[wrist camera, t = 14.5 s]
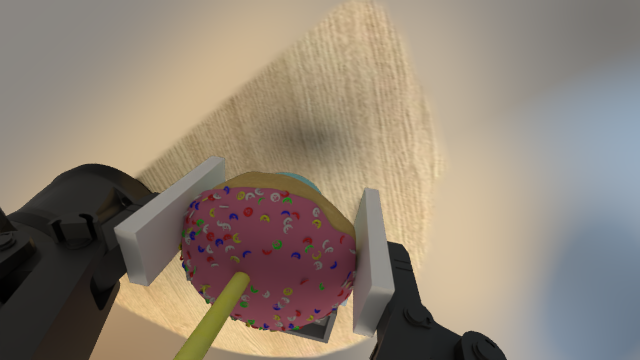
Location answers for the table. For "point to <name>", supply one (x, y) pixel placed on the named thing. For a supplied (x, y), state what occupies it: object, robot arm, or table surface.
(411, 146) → the table surface
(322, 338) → the bin
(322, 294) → the cupcake
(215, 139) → the table surface
